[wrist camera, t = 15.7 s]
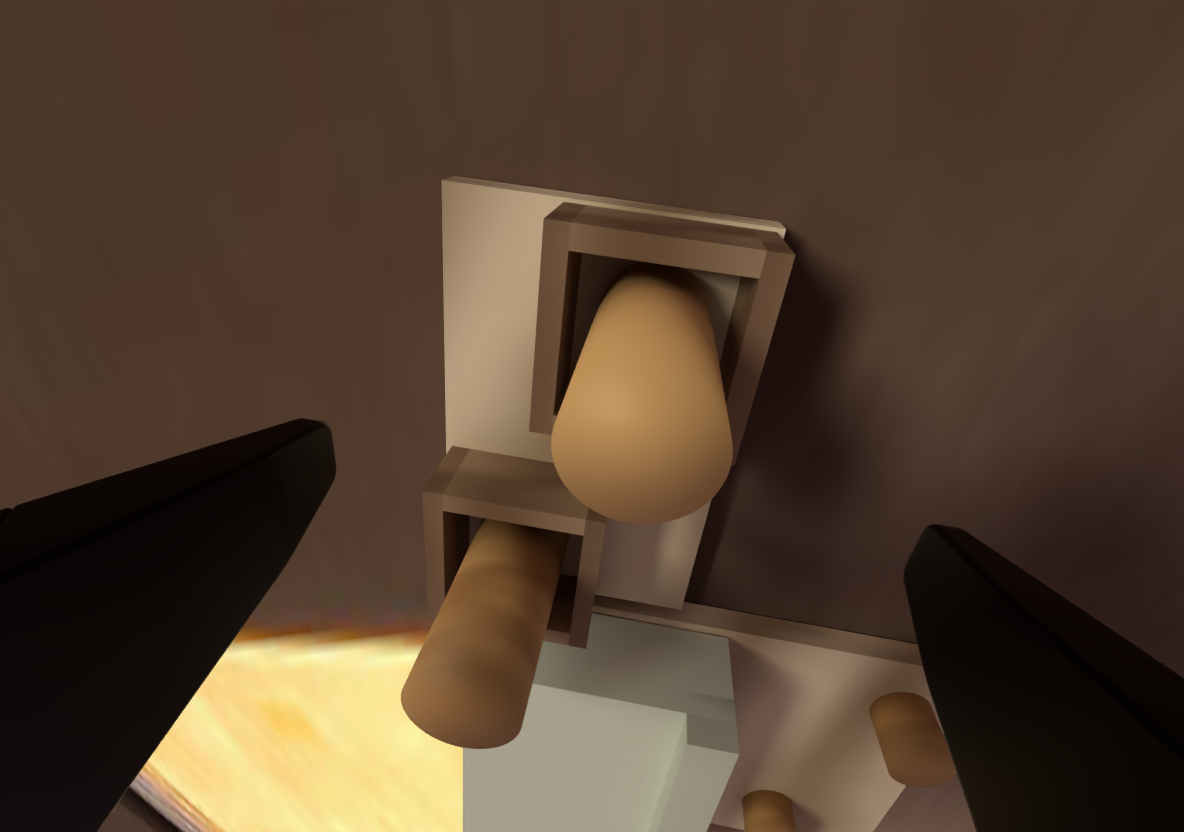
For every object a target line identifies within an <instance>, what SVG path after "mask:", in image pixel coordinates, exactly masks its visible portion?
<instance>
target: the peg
mask: <svg viewBox="0 0 1184 832" xmlns="http://www.w3.org/2000/svg"><path fill="white" fill-rule="evenodd" d="M551 451H552V458H553V461H554V465H555V468H556V470H557V472H558V475H559V477H560V478H561V480H562V482H563V483H564V485H565V486H566V487H567V489H568V490H569V491H570V492H571V493H572V494H573V495H574V496H575V497H576V498H577V499H578V500H579V501H580V502H582V503H583V504H584V505H585V506H587V507H588V508H590V509H592V510H593V511H595V512H597V513H599V514H601V515H604V516H606V517H609V518H611V519H614V520H618V521H622V522H627V523H635V524H656V523H664V522H669V521H673V520H676V519H679V518H682V517H684V516H687V515H689V514H691V513H693V512H695V511H696V510H698V509H700V508H701V507H702V506H704V505H705V504H706V503H708V502H709V501H710V500H711V499H712V498H713V497H714V496H715V495H716V494H717V492H718V491H719V490H720V488H721V487H722V486H723V484H724V482H725V480H726V478H727V476H728V473H729V471H730V468H731V463H732V457H733V444H732V436H731V430H730V425H729V419H728V413H727V407H726V402H725V396H724V390H723V384H722V378H721V373H720V367H719V361H718V355H717V350H716V344H715V338H714V332H713V326H712V321H711V315H710V309H709V303H708V300H707V296H706V294H705V291H704V289H703V288H702V286H701V284H700V283H699V282H698V280H697V279H696V278H695V277H694V276H693V275H692V274H691V273H689V272H688V271H687V270H685V269H684V268H682V267H676V266H669V265H663V264H656V263H649V262H641V263H637V264H634V265H632V266H630V267H628V268H626V269H625V270H623V271H621V272H620V273H619V274H618V275H617V276H615V278H614V279H613V280H612V281H611V282H610V283H609V285H608V286H607V288H606V290H605V292H604V294H603V296H602V299H601V302H600V304H599V307H598V310H597V312H596V315H595V318H594V320H593V323H592V325H591V328H590V331H589V333H588V336H587V339H586V341H585V344H584V347H583V349H582V352H581V355H580V357H579V360H578V363H577V365H576V368H575V370H574V373H573V376H572V378H571V381H570V384H569V386H568V389H567V392H566V394H565V397H564V400H563V402H562V405H561V408H560V410H559V413H558V416H557V418H556V421H555V424H554V427H553V431H552V437H551Z"/></svg>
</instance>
